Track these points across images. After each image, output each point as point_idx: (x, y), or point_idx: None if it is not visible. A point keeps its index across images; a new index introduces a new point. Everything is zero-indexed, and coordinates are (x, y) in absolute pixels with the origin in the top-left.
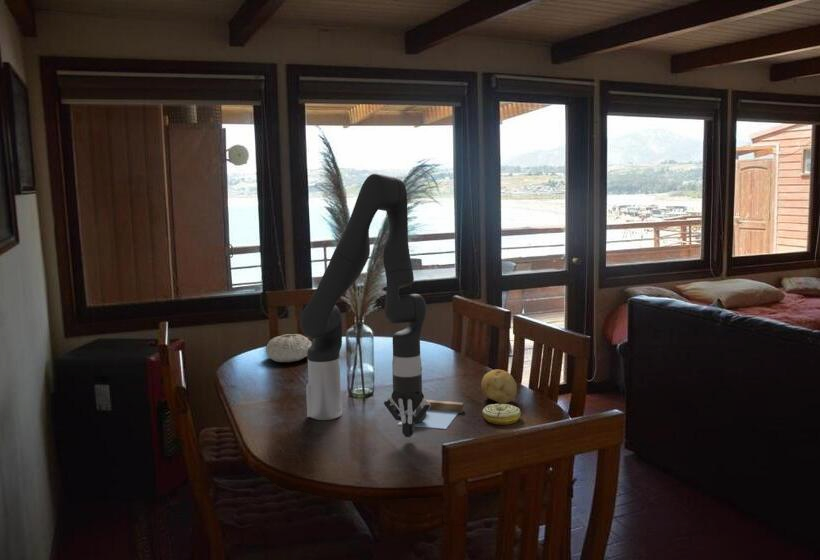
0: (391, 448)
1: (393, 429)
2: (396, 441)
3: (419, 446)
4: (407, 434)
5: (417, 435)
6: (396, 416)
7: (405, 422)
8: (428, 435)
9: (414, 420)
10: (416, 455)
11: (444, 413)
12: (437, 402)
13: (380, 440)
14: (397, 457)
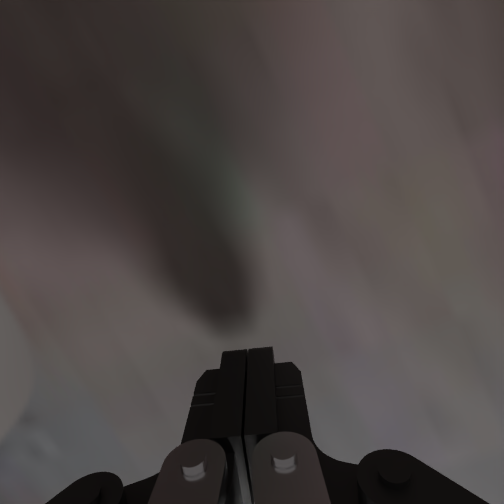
0: (324, 177)
1: None
2: (345, 322)
3: (132, 297)
4: (242, 359)
5: None
6: (413, 501)
7: (256, 445)
8: None
9: (117, 490)
10: (55, 119)
11: None
12: None
13: (479, 295)
14: (182, 4)
